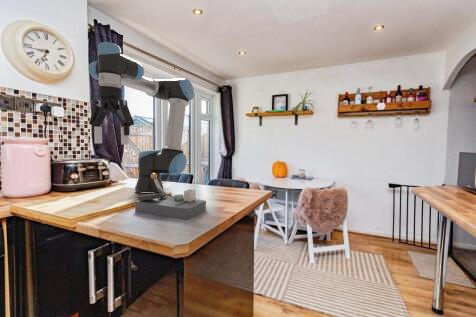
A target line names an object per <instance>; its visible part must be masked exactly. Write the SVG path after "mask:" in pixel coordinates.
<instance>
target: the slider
mask: <svg viewBox="0 0 476 317" xmlns="http://www.w3.org/2000/svg"><path fill="white" fill-rule="evenodd" d="M183 198H184V201H189V202H191V201H193V200H195V199H196V189H187V190H184V191H183Z"/></svg>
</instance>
